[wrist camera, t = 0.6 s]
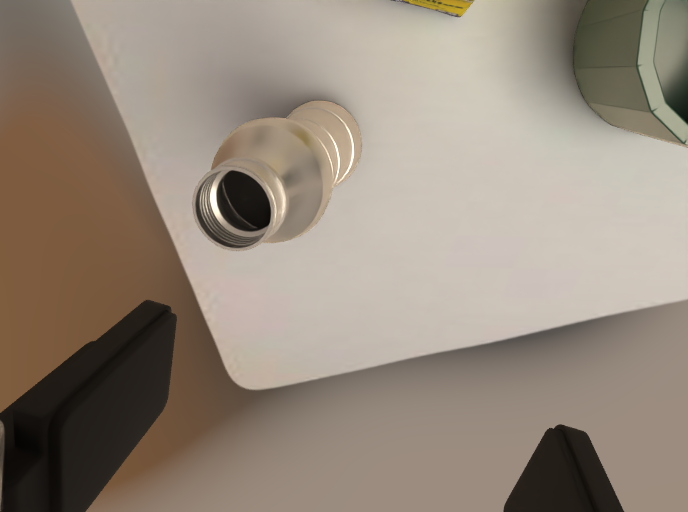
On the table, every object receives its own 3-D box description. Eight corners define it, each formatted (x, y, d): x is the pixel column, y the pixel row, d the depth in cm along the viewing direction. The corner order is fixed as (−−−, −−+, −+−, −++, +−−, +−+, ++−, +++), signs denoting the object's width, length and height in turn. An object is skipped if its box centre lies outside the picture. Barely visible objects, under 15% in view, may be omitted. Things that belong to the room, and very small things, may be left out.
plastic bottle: (380, 125, 36) (340, 180, 17) (339, 196, 38) (267, 308, 20) (310, 82, 35) (192, 92, 17) (273, 157, 38) (138, 235, 20)
